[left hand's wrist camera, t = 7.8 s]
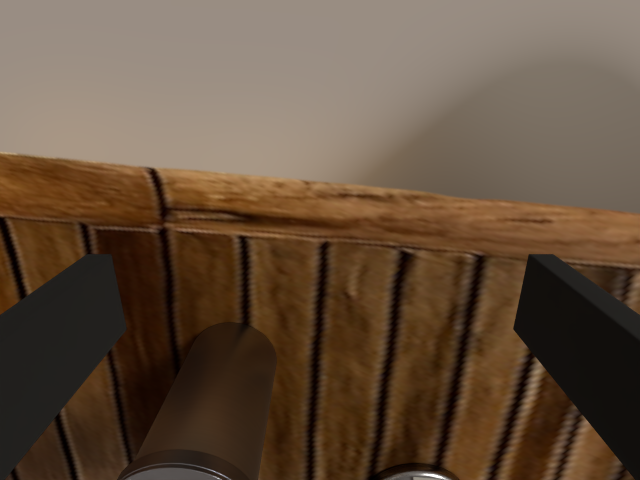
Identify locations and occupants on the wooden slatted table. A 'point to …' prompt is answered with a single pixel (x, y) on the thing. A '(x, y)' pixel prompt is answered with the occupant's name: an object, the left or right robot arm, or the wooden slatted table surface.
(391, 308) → the wooden slatted table surface
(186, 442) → the jar
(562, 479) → the wooden slatted table surface
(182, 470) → the lid
